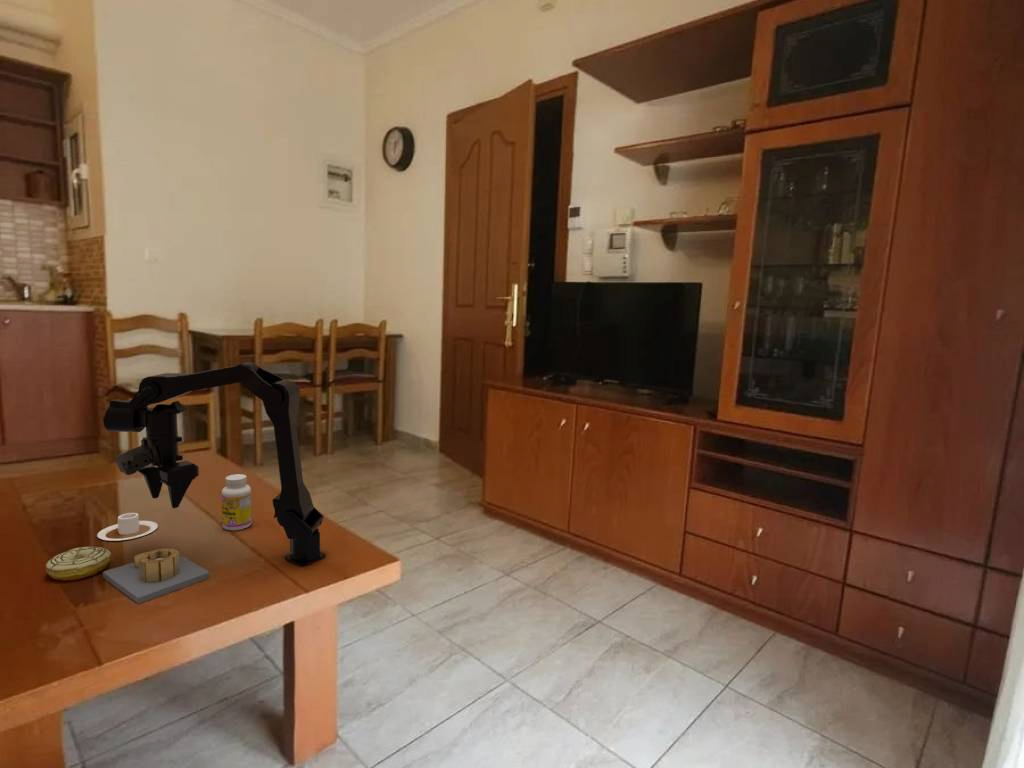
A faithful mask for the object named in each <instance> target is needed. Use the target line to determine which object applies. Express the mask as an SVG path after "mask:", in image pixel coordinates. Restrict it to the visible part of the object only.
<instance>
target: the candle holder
mask: <svg viewBox="0 0 1024 768" xmlns="http://www.w3.org/2000/svg"><path fill="white" fill-rule="evenodd" d="M140 526H146V527H148V528H149V530H147V531H146V532H143V533H141V534H138V535H134V536H130V537H125V538H124V537H123V538H111V537H107V534H108V533H110V532H111V531H113V530H115V529H117V532H118V534H119V535H123V536H127V535H132V534H136V533H138V532H139V531H140ZM158 526H159V524H158V523H157V522H154V521H151V520H140V515H139V513H137V512H126V513H123V514H120V515H118V517H117V524H112V525H110V526H106V528H103V529H101V530H100V531H99V532H98V533H97V534H96V537H97V538H98V539H100V540H103V541H111V542H112V541H113V542H114V541H115V542H120V541H127V540H133V539H137V538H140V537H144V536H146V535H149V534H150V533H153V532H155V531H156V530H157V529H158Z"/></svg>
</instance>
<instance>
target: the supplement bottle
mask: <svg viewBox="0 0 1024 768" xmlns="http://www.w3.org/2000/svg"><path fill="white" fill-rule="evenodd" d="M247 477H248V476H247V475H246V474H244V473H243V474H242V473H241V474H239V473H236V474H230V475H228V476H226V477H225V484H226V485H225V486H224V487H223V488H222V489H221V519H222V520H221V524H222V528H223V529H224V530H226V531H242V530H244V528H245V529H247V528H248V527H250V526H251V525H252V522H253V521H252V519H253V518H252V514H253V512H252V488H251V486H250V485H249V484H247V480H248V479H247Z"/></svg>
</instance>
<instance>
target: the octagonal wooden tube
mask: <svg viewBox="0 0 1024 768" xmlns="http://www.w3.org/2000/svg"><path fill="white" fill-rule="evenodd" d="M179 555H180V551H178V550H177V549H175V548H160V549H157V548H156V549H154V550H151V551H147V553H146V554H143V555H142V556H141V557H140V558H139V572H140V579H141V580H142V581H144V582H159V581H164V580H167V579H170V578H173V577H174V576H176V575H177V574H178V572H179V571H180V566H179ZM158 558H164V559H161V560H155V559H158Z"/></svg>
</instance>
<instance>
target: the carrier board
mask: <svg viewBox="0 0 1024 768" xmlns="http://www.w3.org/2000/svg"><path fill="white" fill-rule="evenodd" d="M147 552H148V551H147ZM147 552H146V551H145V552H142V553H138V554H136V555H134V559H133V560H134V562H130V563H127V564H124V565H120V566H117V567H114V568H111V569H108V570H105V571H103V572H102V578H103V579H105V581H107V582H108V583H110V584H111V585H113V586H114V587H115V588H116V589H118V591H120V592H121V593H123V595H126V596H127V597H128V598H129V599H131V600H132V601H133V602H135V603H136V604H138V605H140V604H142V603H145V602H147V601H150V600H154V599H156V598H159V597H161V596H164V595H167V594H169V593H172V592H175V591H177V590H180V589H183V588H185V587H188V586H191V585H194V584H196V583H199V582H202V581H205V580H208V579H210V577H211V576H210V575H211V574H210V572H209V571H208V570H206V568H202V567H201V566H200V565H198V564H196V563H194V562H193V561H191V560H190V559H187V558H186V557H184V556H182V555H180V554H179V566H180V571H179V572H178V574H177V575H176V576H174V577H173V578H170V579H167V580H164V581H159V582H144V581H142V580H141V579H140V572H139V558H140V557H141V556H142V555H143V554H146V553H147ZM161 559H164V558H158V559H155V560H161Z"/></svg>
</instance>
